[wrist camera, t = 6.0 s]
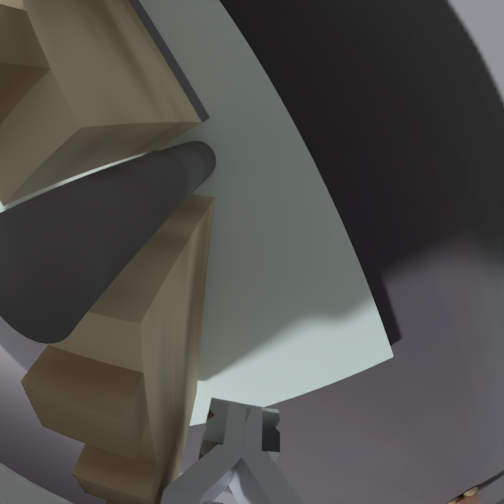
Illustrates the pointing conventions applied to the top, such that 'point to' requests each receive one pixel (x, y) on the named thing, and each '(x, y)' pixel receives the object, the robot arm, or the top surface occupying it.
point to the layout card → (260, 227)
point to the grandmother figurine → (468, 498)
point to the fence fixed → (83, 155)
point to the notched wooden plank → (133, 366)
